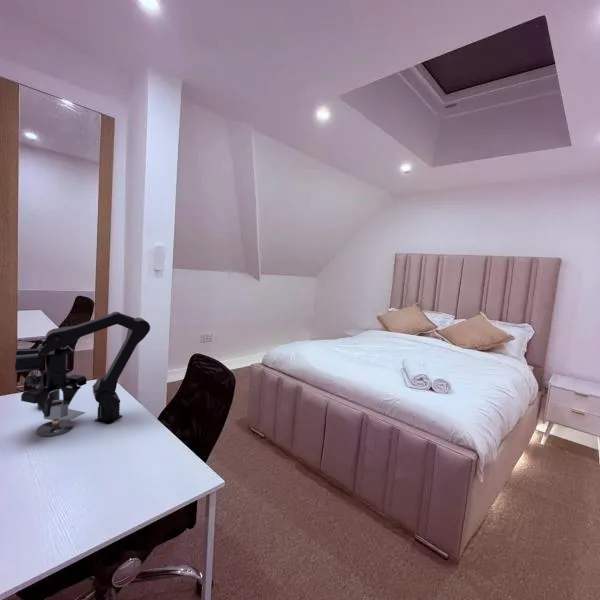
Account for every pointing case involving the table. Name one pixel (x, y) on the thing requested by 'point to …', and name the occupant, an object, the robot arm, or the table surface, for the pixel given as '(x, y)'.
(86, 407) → the table surface
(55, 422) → the hub
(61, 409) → the ring
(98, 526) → the table surface
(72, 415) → the stand pad
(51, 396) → the supplement bottle
